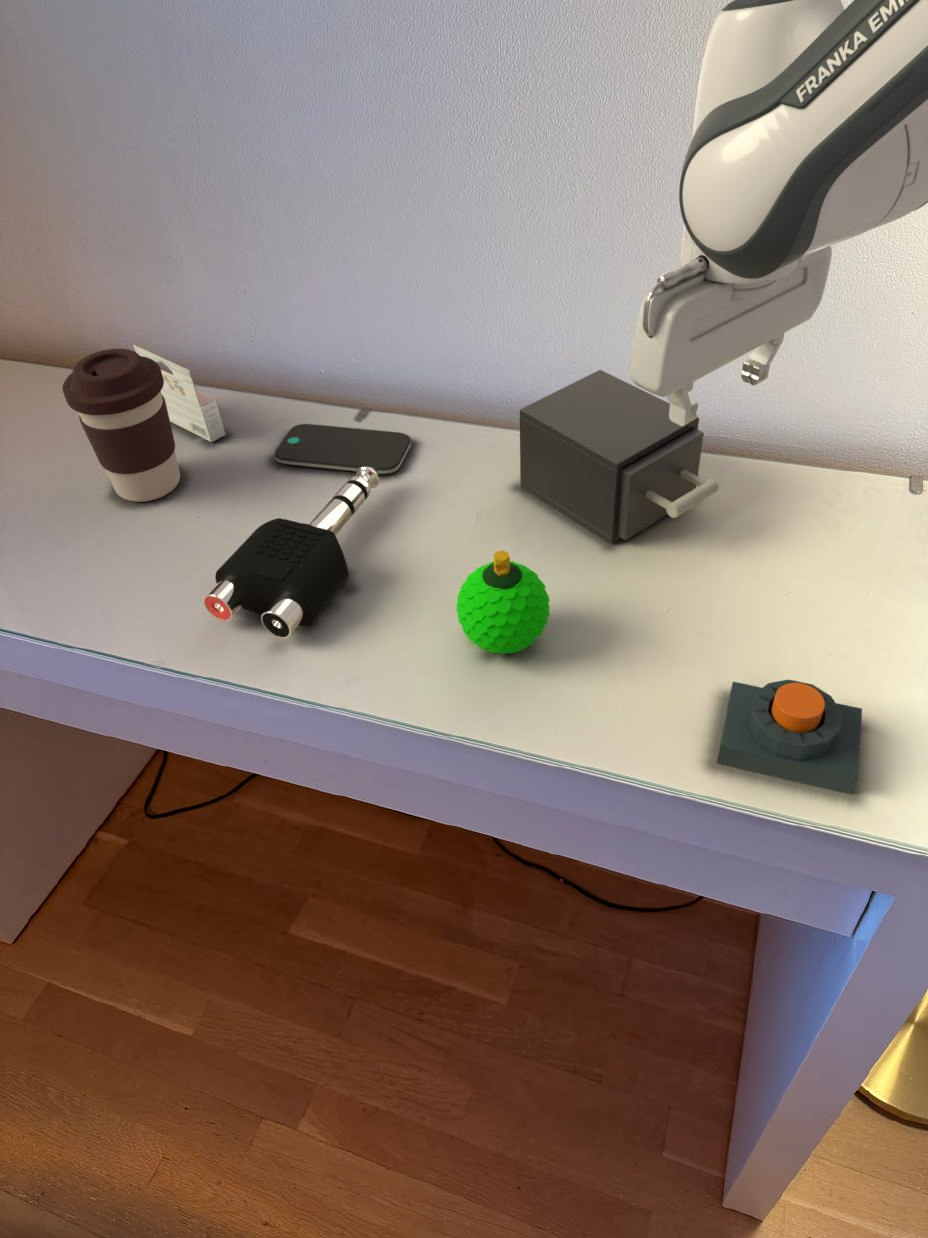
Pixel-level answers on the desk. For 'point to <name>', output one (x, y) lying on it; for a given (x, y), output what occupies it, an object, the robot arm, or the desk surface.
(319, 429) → the smartphone
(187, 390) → the ink box
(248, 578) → the audio adapter
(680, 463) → the drawer
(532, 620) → the ornament
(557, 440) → the small drawer cabinet
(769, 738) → the control block
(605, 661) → the desk surface
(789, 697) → the button
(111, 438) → the coffee cup
